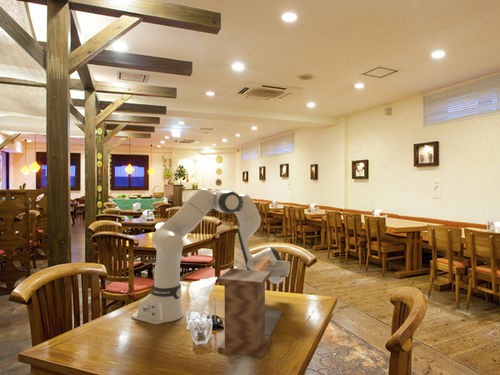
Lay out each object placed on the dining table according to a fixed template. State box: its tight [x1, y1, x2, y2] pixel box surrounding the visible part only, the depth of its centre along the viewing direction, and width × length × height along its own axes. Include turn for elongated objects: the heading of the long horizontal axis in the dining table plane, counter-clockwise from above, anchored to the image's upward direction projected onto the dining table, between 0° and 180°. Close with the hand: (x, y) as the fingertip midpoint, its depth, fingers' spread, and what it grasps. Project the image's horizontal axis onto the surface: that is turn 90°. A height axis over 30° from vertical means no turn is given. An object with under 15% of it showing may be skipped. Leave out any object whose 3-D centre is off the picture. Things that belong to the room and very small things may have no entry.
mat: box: [265, 308, 283, 337], centre depth 141 cm, size 14×24×1 cm, turn 163°
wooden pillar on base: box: [217, 268, 272, 359], centre depth 121 cm, size 16×14×26 cm
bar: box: [252, 256, 270, 271], centre depth 142 cm, size 3×22×3 cm, turn 163°
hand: (265, 260), depth 149 cm, fingers closed on bar, 3 cm apart
